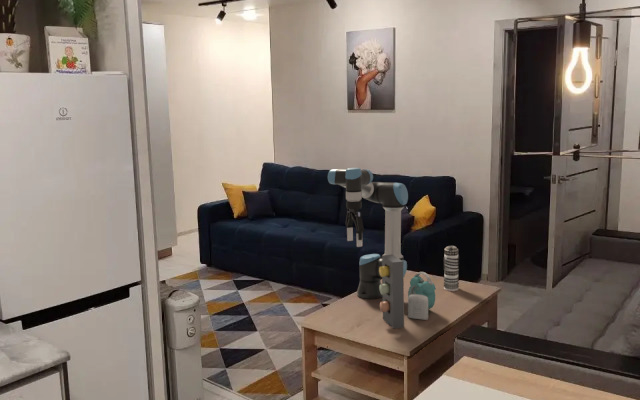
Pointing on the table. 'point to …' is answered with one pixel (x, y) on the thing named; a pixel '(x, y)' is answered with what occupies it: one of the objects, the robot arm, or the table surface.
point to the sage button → (384, 288)
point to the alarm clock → (423, 288)
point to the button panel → (394, 291)
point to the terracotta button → (385, 306)
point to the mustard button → (384, 271)
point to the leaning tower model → (451, 268)
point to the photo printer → (418, 307)
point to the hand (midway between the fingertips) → (354, 243)
